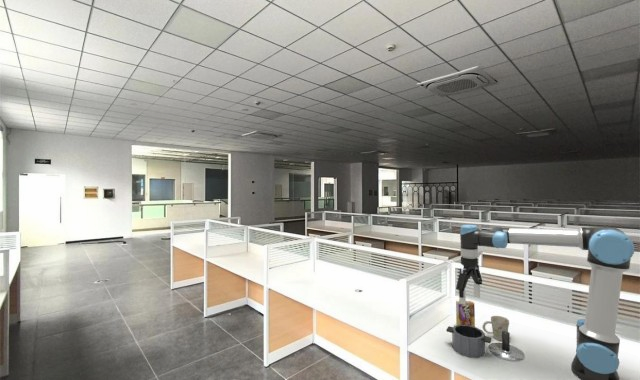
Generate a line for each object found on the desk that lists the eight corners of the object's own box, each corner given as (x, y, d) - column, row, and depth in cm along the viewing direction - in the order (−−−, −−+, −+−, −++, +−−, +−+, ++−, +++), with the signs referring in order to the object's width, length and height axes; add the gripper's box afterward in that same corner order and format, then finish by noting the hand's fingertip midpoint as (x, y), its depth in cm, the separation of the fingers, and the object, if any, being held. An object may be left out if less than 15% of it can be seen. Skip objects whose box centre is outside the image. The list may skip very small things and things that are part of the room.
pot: (493, 349, 148) (493, 331, 148) (488, 363, 137) (488, 343, 136) (451, 337, 160) (451, 320, 160) (443, 349, 149) (443, 331, 149)
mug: (511, 342, 154) (511, 323, 154) (485, 340, 157) (485, 321, 156) (505, 334, 162) (505, 316, 162) (480, 332, 165) (480, 314, 164)
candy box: (472, 326, 171) (472, 300, 171) (475, 330, 167) (475, 303, 166) (455, 326, 172) (455, 300, 172) (458, 330, 168) (458, 303, 167)
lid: (525, 350, 147) (525, 330, 147) (523, 365, 135) (523, 344, 135) (490, 341, 156) (490, 322, 156) (485, 354, 144) (485, 334, 144)
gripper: (474, 251, 155) (475, 292, 156) (447, 259, 141) (448, 304, 141) (489, 254, 149) (490, 296, 150) (463, 262, 135) (463, 309, 135)
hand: (469, 300), depth 145 cm, fingers open, 13 cm apart
